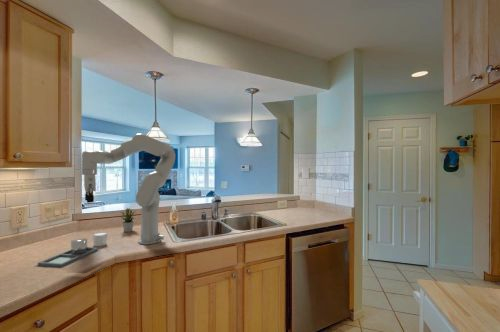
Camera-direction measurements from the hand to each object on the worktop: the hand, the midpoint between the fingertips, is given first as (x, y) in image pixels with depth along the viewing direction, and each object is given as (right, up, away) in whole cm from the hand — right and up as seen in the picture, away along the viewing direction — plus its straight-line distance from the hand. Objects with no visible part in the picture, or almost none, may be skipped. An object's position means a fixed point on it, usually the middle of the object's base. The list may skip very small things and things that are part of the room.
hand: (89, 201), depth 149 cm
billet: (+10, -23, -23) cm, 34 cm away
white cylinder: (+11, -24, -8) cm, 28 cm away
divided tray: (+9, -24, -28) cm, 38 cm away
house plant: (+9, -24, +26) cm, 37 cm away
